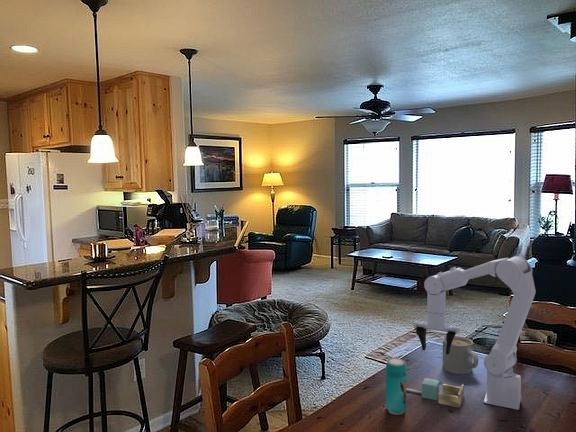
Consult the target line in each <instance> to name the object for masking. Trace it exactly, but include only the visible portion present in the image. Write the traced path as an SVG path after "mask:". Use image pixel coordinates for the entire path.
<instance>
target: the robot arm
mask: <svg viewBox="0 0 576 432" xmlns="http://www.w3.org/2000/svg"><path fill="white" fill-rule="evenodd" d="M486 275H490V276H491V277H494V278H496V277H497V278H498V279H499V280H500V281H501V282H503V283H504V284H505V285H506V286H507V287H508V288H509V289H510V290H511V292H512V294H513V296H512V298H511V302H510V305H509V307H508V310H507V314H506V316H505V318H504V321H503V324H502V327H501V330H500V332H499V335H498V338H497V341H496V342H495V344H494V345H493V346H492V348H491V349H490V353H489V354H487V355H486V356H485V357H484V360H483V366H484V368H485V370H486V393H485V395H484V396H485V397H484V400H483V403H484V404H487V405H493V406H497V407H502V408H507V409H512V410H516V411H517V410H520V405H521V401H522V394H521V392H522V391H521V387H522V384H521V383H522V381H521V380H522V375H519V374H517V373H514V368H513V367H514V366H515V365H516V363H517V362H518V361H517V360H518V359H517V351H518V347H517V345H518V341H519V338H520V336H521V333H522V331H523V327H524V326H525V323H526V320H527V318H528V314H529V311H530V309H531V306H532V303H533V301H534V299H535V295H536V292H537V290H536V287H535V281H534V277H533V267H532V266H531V264H530V262H529V261H528V260H527V259H526V258H525V257H523V256H520V255H515V256H511V257H510V258H509V257H504V258H499V259H498V258H497V259H495V260H494V259H493V260H491V261H487V262H485V263H482V264H480V265H479V264H478V265H476V266H473V267H470V268H467V269H464V268H462V267H456V266H454V267H451V268H449V270H447V271H444V272H442V271H440V272H438V273H437V274H435V275H430V276H429V277H427V278H426V279H425V280H424V285H423V286H424V289H425V291H426V294H427V296H426V298H427V300H426V309H427V311H426V312H427V314H426V316H427V317H426V320H425V321H424V320H414V321H413V325H412V326H413V329H415V334H416V335H417V337H418V339H419V342H420V345H421V350H422V351H424V352H425V351H426V349H427V340H426V339H427V338H426V337H427V330H431V331H439V332H447V333H446V335H445V337H446V340H447V348H446V354H449V353H450V347H451V344H452V341H453V339H454V337H455V336H457V335H459V334H460V332H461V330H460V329H461V327H460V326H458V325H454V324H449V323H446V304H447V303H446V301H447V300H446V299H447V297H446V296H447V295H446V294H447V293H446V292H447V291H450V290H452V289H453V290H454V289H457V288H460V287H463V286H466V285H467V283H468V281H469V280H471V279H472V280H473V279H475V278H479V277H483V276H486Z"/></svg>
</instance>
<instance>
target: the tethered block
mask: <svg viewBox="0 0 576 432" xmlns="http://www.w3.org/2000/svg"><path fill="white" fill-rule="evenodd" d="M406 392H410V393H415V394H416V393H417V394H421V398H423V399H428V400H433V401H437V400H438V397H439V393H440V380H438V379H432V378H428V377H425V378H423V381H422V382H421V390H417V389H412V388H407V387H406Z"/></svg>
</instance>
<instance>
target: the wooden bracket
mask: <svg viewBox="0 0 576 432" xmlns="http://www.w3.org/2000/svg"><path fill="white" fill-rule="evenodd" d="M464 396H465V385H464V383H462V384H461V386H457V385H453V384H452V385H451V384H447V383H443V384H442V392H439V396H438V398H437V400H438V401H437V402H438V404H441V405H444V406H449V407H455V408H461V405H462V403H463V401H464V398H465V397H464Z"/></svg>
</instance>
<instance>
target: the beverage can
mask: <svg viewBox="0 0 576 432" xmlns="http://www.w3.org/2000/svg"><path fill="white" fill-rule="evenodd" d="M406 388H407V365H406V361H405V360H404V359H402V358H399V357H398V358H397V357H391V358H388V359H387V360H386V365H385V405H386V406H385V407H386V409H387V411H388V413H390V414H392V415H393V416H394V415H395V416H401V415H403V414H404V412H405V411H406V408H407V391H406Z"/></svg>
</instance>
